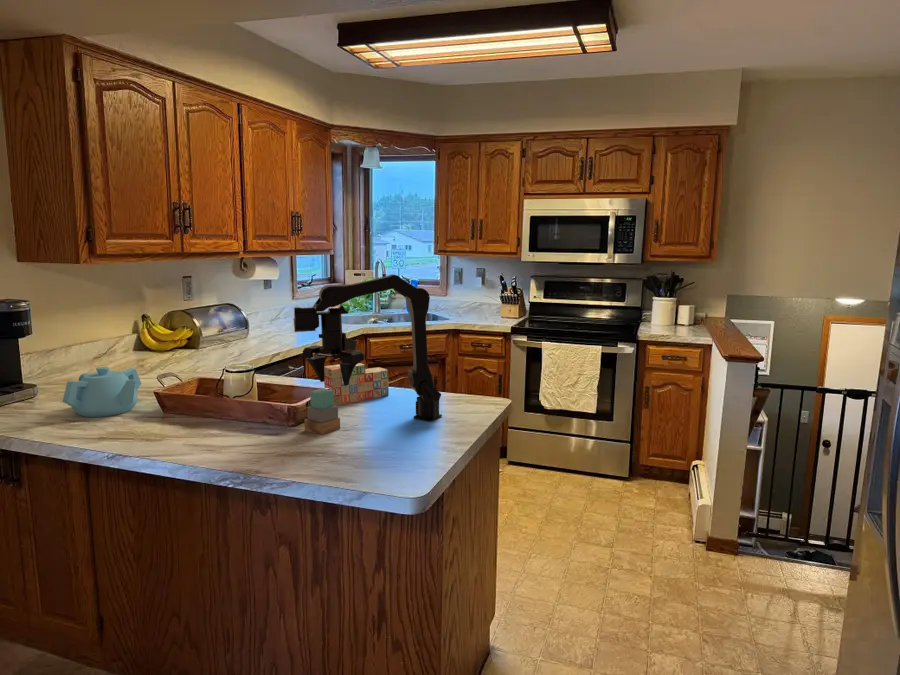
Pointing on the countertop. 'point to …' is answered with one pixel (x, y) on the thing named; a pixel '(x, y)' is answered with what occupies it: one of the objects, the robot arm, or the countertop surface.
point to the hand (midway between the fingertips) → (334, 383)
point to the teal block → (322, 398)
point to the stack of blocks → (356, 383)
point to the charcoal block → (322, 414)
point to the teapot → (103, 392)
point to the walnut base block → (322, 426)
